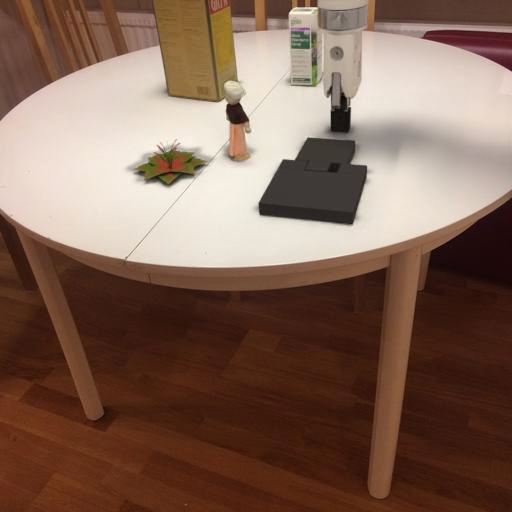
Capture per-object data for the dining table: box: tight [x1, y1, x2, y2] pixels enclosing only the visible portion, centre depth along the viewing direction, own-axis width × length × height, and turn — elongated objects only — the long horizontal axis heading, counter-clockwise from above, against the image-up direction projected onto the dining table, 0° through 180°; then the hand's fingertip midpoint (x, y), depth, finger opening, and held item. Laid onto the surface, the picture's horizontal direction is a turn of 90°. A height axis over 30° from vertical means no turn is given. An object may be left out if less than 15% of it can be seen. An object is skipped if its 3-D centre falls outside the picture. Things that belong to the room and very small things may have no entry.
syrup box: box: [288, 6, 323, 87], centre depth 109 cm, size 6×6×14 cm
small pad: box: [294, 136, 356, 173], centre depth 83 cm, size 8×11×2 cm
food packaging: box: [151, 0, 239, 103], centre depth 106 cm, size 13×9×25 cm
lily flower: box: [131, 138, 210, 185], centre depth 85 cm, size 12×12×5 cm
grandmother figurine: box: [224, 81, 252, 162], centre depth 84 cm, size 8×4×13 cm, turn 40°
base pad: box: [257, 158, 368, 225], centre depth 76 cm, size 13×13×2 cm
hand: (340, 130), depth 91 cm, fingers closed
